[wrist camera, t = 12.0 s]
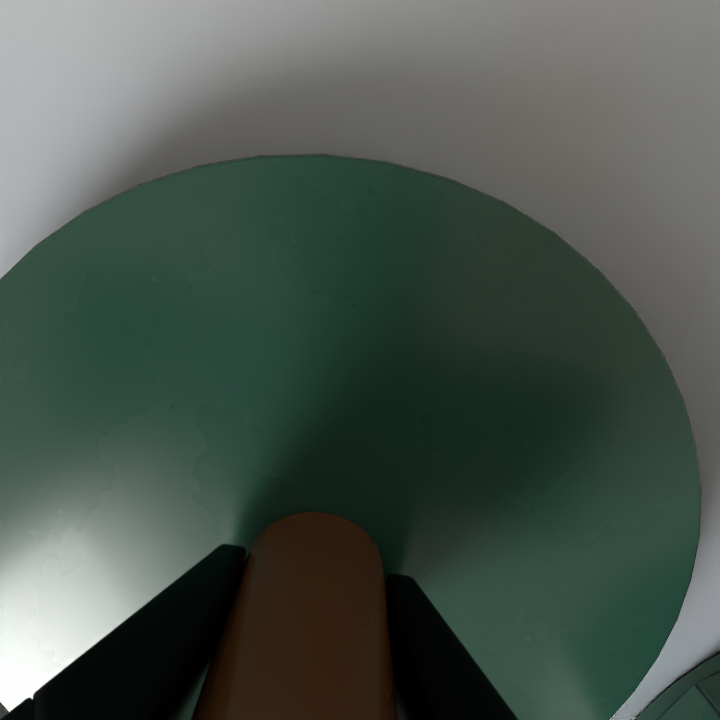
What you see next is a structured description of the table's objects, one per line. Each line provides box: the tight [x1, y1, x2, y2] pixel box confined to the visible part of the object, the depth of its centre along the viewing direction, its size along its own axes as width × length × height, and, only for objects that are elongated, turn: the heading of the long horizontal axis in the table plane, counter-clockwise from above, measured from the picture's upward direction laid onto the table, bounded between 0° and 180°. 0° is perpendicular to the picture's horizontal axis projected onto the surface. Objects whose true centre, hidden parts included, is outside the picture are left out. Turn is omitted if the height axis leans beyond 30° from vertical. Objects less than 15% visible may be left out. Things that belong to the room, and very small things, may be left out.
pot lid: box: [0, 154, 701, 720], centre depth 6 cm, size 13×13×5 cm
